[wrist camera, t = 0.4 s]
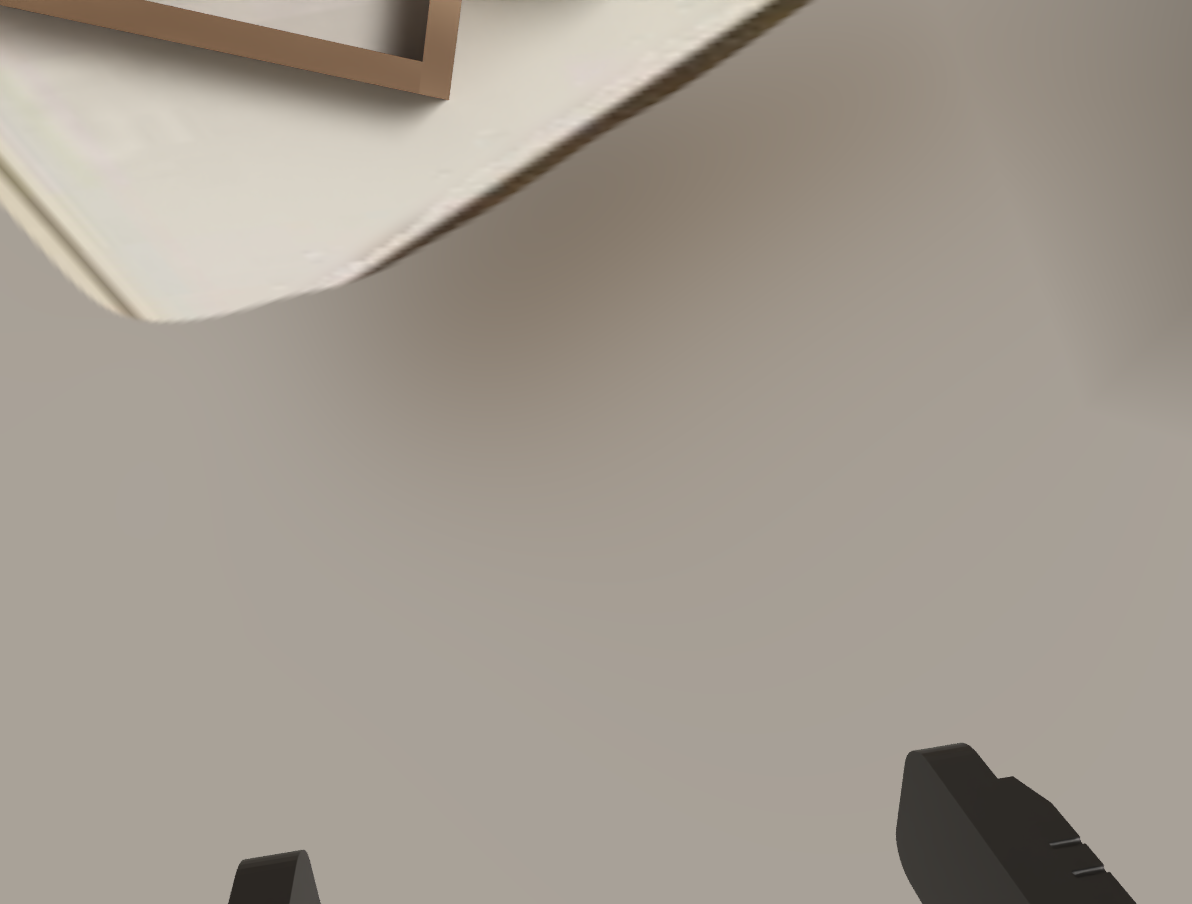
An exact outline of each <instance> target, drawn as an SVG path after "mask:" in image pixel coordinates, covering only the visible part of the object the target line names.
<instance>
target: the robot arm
mask: <svg viewBox="0 0 1192 904" xmlns="http://www.w3.org/2000/svg"><path fill="white" fill-rule="evenodd" d="M896 841H897V847H898V852H899V856H900V860H901V863H902V866H903V869H904V871H905V874H906V876H907V878H908V880H909V882H910V884H911V885H912V887H913V889H914V890H915V892H916V894H917V895H918V897H919V899H920V901H921V902H922V904H1136V902H1135V901H1134V900H1133V899H1132V898H1131V897H1130V895H1129V894H1128V893H1127V892H1126V891H1125V889H1124V888H1123V887H1122V886H1121V885H1120V884H1119V882H1118V881H1117V880H1116V879H1115V878H1114V876H1113V875H1112V874H1111V873H1110V872H1106V871H1105V869H1104V865H1103V863H1102V862H1101V861H1100V860H1099V859H1098V858H1097V856H1096V855H1095V854H1094V853H1093V852H1092V851H1091V849H1090V848H1089V847H1088V846H1087V845H1086V844H1082V842H1081V840H1080V836H1079V835H1078V834H1077V833H1076V831H1075V830H1074V829H1073V828H1072V827H1071V826H1070V824H1069V823H1068V822H1067V821H1066V820H1065V819H1064V817H1063V816H1062V815H1061V814H1060V813H1059V811H1058V810H1057V809H1056V808H1055V807H1054V806H1053V804H1052V803H1051V802H1049V801H1048V800H1046V799H1045V798H1044V797H1042V796H1041V795H1039V794H1038V793H1036V792H1035V791H1033V790H1032V789H1030V788H1029V787H1027V786H1026V785H1025V784H1023V783H1022V782H1020V781H1019V780H1017V779H1016V778H1015V777H1013V776H1012V777H1006V778H1000V779H997V777H996V776H995V775H994V774H993V773H992V771H991V770H990V769H989V767H988V766H987V765H986V764H985V762H984V761H983V760H982V759H981V758H980V756H979V755H978V754H977V752H976V751H975V750H974V749H972V748H971V747H970V746H969V745H967V744H965V743H957V744H951V745H945V746H940V747H934V748H928V749H921V750H915V751H911V752H909V754H908V755H907V757H906V761H905V767H904V774H903V782H902V789H901V797H900V804H899V812H898V820H897V827H896ZM228 904H321V903H320V900H319V896H318V892H317V888H316V884H315V880H314V876H313V872H312V868H311V864H310V860H309V857H308V854H307V852H306V851H305V850H299V851H293V852H287V853H281V854H275V855H269V856H263V857H257V858H251V859H245V860H243V861H241V863H240V864H239V866H238V869H237V872H236V875H235V879H234V883H233V887H232V891H231V895H230V899H229V903H228Z"/></svg>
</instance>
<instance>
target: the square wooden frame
mask: <svg viewBox="0 0 1192 904" xmlns="http://www.w3.org/2000/svg"><path fill="white" fill-rule="evenodd" d="M461 2H462V0H430V3H429V11H428V20H427V28H426V37H425V45H424V54H423V62H421V61H417V60H412V59H408V58H403V57H399V56H394V55H390V54H385V53H381V52H376V51H372V50H367V49H363V48H358V47H353V46H349V45H344V44H340V43H335V42H331V41H326V40H322V39H317V38H313V37H308V36H304V35H299V34H295V33H290V32H286V31H281V30H277V29H272V28H268V27H263V26H258V25H254V24H249V23H245V22H240V21H236V20H231V19H227V18H222V17H218V16H213V15H209V14H204V13H200V12H195V11H191V10H186V9H182V8H177V7H173V6H168V5H163V4H159V3H154V2H150V1H145V0H0V5H2V6H7V7H12V8H17V9H21V10H26V11H31V12H35V13H40V14H45V15H50V16H54V17H59V18H64V19H68V20H73V21H78V22H83V23H87V24H92V25H97V26H101V27H106V28H111V29H115V30H120V31H125V32H130V33H134V34H139V35H144V36H148V37H153V38H158V39H163V40H167V41H172V42H177V43H181V44H186V45H191V46H196V47H200V48H205V49H210V50H214V51H219V52H224V53H229V54H233V55H238V56H243V57H247V58H252V59H257V60H262V61H266V62H271V63H276V64H280V65H285V66H290V67H295V68H299V69H304V70H309V71H313V72H318V73H323V74H327V75H332V76H337V77H342V78H346V79H351V80H356V81H360V82H365V83H370V84H375V85H379V86H384V87H389V88H393V89H398V90H403V91H408V92H412V93H417V94H422V95H426V96H431V97H436V98H441V99H445V100H449V95H450V87H451V80H452V72H453V64H454V56H455V49H456V41H457V33H458V25H459V17H460V10H461Z"/></svg>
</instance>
